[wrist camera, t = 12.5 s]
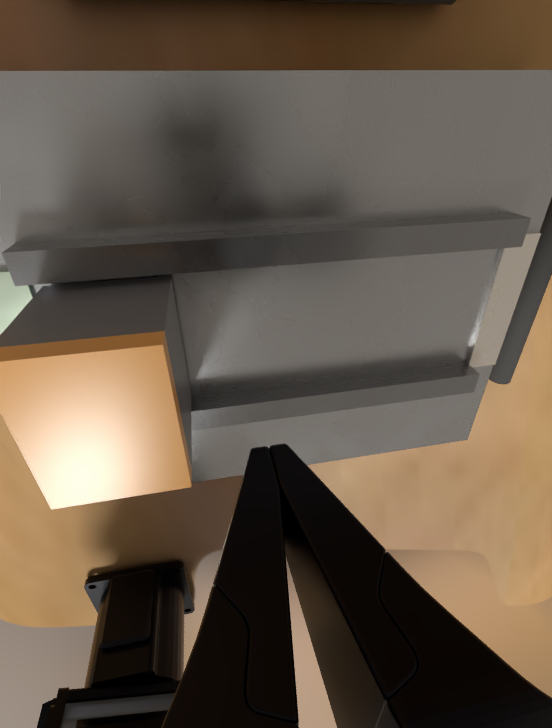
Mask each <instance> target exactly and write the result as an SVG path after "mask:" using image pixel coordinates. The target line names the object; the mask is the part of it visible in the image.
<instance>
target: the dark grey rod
mask: <svg viewBox="0 0 552 728" xmlns="http://www.w3.org/2000/svg"><path fill="white" fill-rule="evenodd" d="M539 233H541V235H540V238H539V241H538V244H537V247H536V250H535V252H534V255H533V258H532V261H531V264H530V267H529V270H528V272H527V275H526V278H525V281H524V284H523V287H522V290H521V292H520V295H519V298H518V301H517V304H516V307H515V310H514V312H513V315H512V318H511V321H510V324H509V327H508V330H507V332H506V335H505V338H504V341H503V344H502V347H501V349H500V352H499V355H498V358H497V361H496V364H495V365H493V367H492V370H491V373H490V376H489V379H490V380H491V381H493V382H495V383H498V384H508V383H510V381H511V378H512V376H513V373H514V371H515V368H516V365H517V363H518V360H519V358H520V355H521V352H522V350H523V347H524V345H525V342H526V340H527V337H528V334H529V332H530V329H531V327H532V324H533V321H534V319H535V316H536V314H537V311H538V309H539V306H540V303H541V301H542V298H543V296H544V293H545V290H546V288H547V285H548V283H549V280H550V277H551V275H552V197H551V200H550V203H549V206H548V209H547V212H546V215H545V218H544V221H543V223H542V226H541V229H540V232H539Z"/></svg>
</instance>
